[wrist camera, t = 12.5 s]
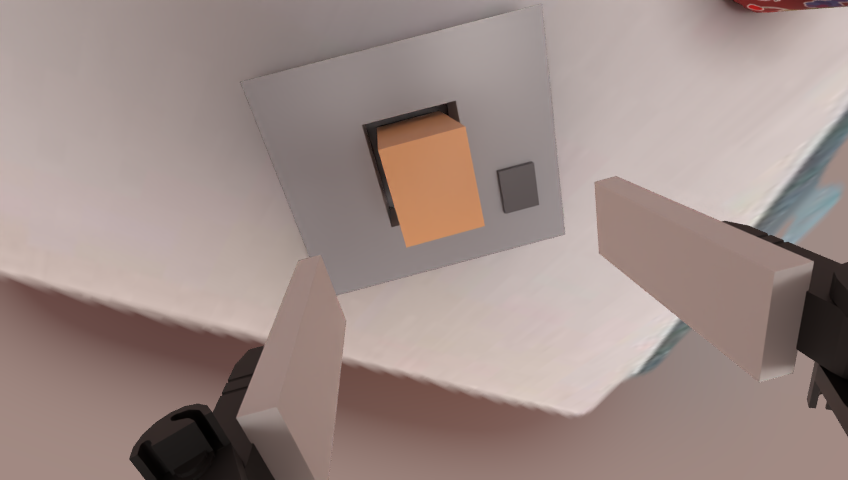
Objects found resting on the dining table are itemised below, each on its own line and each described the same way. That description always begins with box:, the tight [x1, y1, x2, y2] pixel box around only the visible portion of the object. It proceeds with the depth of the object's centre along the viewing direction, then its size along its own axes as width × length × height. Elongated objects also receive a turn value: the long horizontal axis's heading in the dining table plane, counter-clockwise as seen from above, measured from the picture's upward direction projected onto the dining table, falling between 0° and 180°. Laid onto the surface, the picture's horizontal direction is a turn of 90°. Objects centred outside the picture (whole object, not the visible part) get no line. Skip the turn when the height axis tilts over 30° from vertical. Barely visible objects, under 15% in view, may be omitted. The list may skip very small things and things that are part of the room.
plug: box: [377, 111, 485, 248], centre depth 25 cm, size 5×4×10 cm
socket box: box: [240, 4, 565, 296], centre depth 28 cm, size 15×18×4 cm
